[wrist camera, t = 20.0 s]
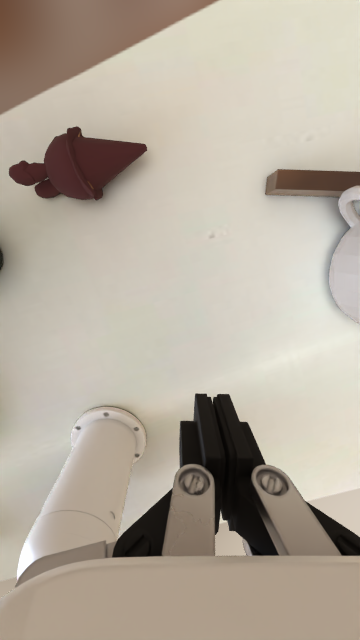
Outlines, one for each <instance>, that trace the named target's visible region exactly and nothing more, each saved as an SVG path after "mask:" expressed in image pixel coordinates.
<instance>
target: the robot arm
mask: <svg viewBox="0 0 360 640" xmlns="http://www.w3.org/2000/svg"><path fill="white" fill-rule="evenodd" d="M71 444H72V447H73V449H72V451H71V453H70V455H69V457H68V459H67V461H66V463H65V465H64V467H63V469H62V471H61V473H60V475H59V477H58V479H57V481H56V482H55V484H54V486H53V488H52V490H51V492H50V494H49V496H48V498H47V500H46V502H45V504H44V506H43V508H42V510H41V512H40V514H39V516H38V517H37V519H36V521H35V523H34V525H33V527H32V529H31V531H30V533H29V535H28V537H27V539H26V541H25V544H24V546H23V549H22V552H21V555H20V560H19V565H18V573H17V584H16V586H15V588H14V589H13V590H11V591H10V592H8V593H7V594H6V595H4V596H3V597H2V598H1V599H0V640H360V537H358V536H357V535H356V534H355V533H353V532H352V531H350V530H348V529H347V528H345V527H344V526H342V525H341V524H339V523H338V522H336V521H335V520H333V519H332V518H330V517H328V516H327V515H326V514H324V513H323V512H321V511H320V510H318V509H316V508H315V507H313V506H312V505H310V504H309V503H307V502H306V501H305V500H304V499H303V497H302V496H301V494H300V493H299V491H298V490H297V488H296V487H295V486H294V484H293V483H292V481H291V480H290V478H289V477H288V476H287V475H286V474H285V473H284V472H283V471H281V470H280V469H278V468H276V467H274V466H270V465H266V464H265V461H264V459H263V457H262V454H261V452H260V450H259V447H258V445H257V443H256V440H255V438H254V436H253V433H252V431H251V429H250V426H249V424H248V423H247V422H240V421H239V419H238V416H237V413H236V411H235V408H234V406H233V403H232V400H231V398H230V395H229V394H218V395H217V397H214V398H213V404H212V400H211V397H207V394H195V405H194V421H180V443H179V452H180V469H179V470H178V471H177V473H176V475H175V478H174V484H173V488H172V489H171V490H170V491H169V492H168V493H167V494H166V495H165V496H164V497H162V498H161V499H160V500H159V501H158V502H157V503H156V504H155V505H154V506H153V507H151V508H150V509H149V510H148V511H147V512H146V513H145V514H144V515H143V516H142V517H141V518H139V519H138V520H137V521H136V522H135V523H134V524H133V525H132V526H131V527H130V528H128V529H127V530H126V531H125V532H124V533H123V534H122V535H121V537H120V538H119V539H118V540H117V538H118V533H119V528H120V523H121V518H122V513H123V508H124V504H125V499H126V494H127V489H128V484H129V479H130V475H131V470H132V465H133V464H134V463H136V462H137V461H138V460H139V459H140V458H141V456H142V455H143V453H144V450H145V447H146V433H145V429H144V427H143V425H142V424H141V423H140V421H139V420H138V419H137V418H136V417H135V416H133V415H132V414H130V413H129V412H127V411H125V410H122V409H119V408H114V407H99V408H95V409H92V410H90V411H88V412H86V413H84V414H83V415H82V416H81V417H80V418H79V419H78V420H77V421H76V423H75V425H74V427H73V429H72V432H71ZM220 511H221V513H222V518H223V520H227V521H228V525H229V531H236V532H237V533H238V534H239V535H240V536H241V537H243V546H244V549H245V552H246V555H247V556H215V535H216V534H217V532H218V529H219V520H220Z"/></svg>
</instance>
